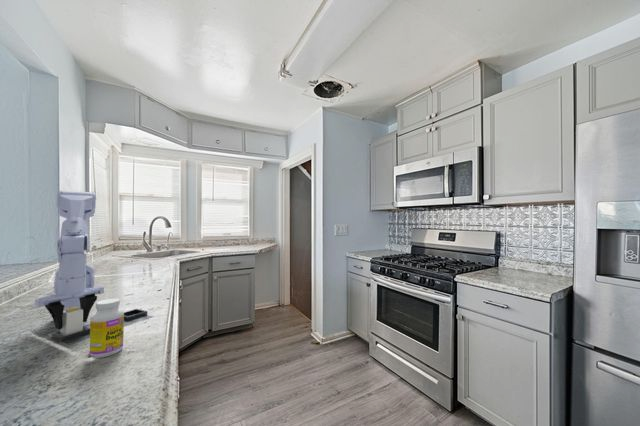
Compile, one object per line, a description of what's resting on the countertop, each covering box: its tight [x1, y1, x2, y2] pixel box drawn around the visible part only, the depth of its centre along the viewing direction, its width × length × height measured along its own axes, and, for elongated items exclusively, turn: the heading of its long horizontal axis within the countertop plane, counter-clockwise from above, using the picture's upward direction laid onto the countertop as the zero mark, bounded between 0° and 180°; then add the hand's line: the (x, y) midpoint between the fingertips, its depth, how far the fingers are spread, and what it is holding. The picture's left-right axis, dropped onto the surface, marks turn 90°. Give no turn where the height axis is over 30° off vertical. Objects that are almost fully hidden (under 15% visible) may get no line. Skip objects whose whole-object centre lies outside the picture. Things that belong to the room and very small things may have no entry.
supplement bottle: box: [89, 298, 125, 359], centre depth 66 cm, size 7×7×13 cm
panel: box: [46, 308, 155, 346], centre depth 81 cm, size 14×22×2 cm, turn 154°
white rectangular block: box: [59, 307, 84, 336], centre depth 74 cm, size 4×4×8 cm
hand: (71, 324), depth 74 cm, fingers open, 5 cm apart
